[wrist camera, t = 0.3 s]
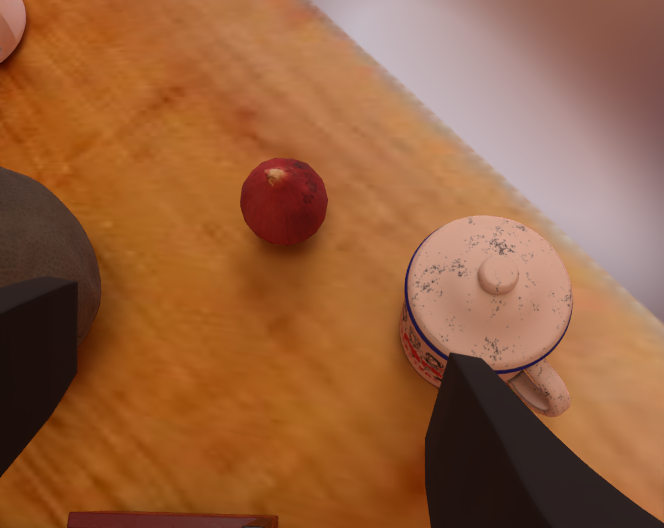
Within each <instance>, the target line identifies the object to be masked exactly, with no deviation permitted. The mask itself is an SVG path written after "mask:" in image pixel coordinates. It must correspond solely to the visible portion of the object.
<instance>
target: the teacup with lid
mask: <svg viewBox="0 0 664 528" xmlns="http://www.w3.org/2000/svg"><path fill="white" fill-rule="evenodd" d="M572 305H573V300H572V287H571V282H570V278H569V275H568V272H567V270H566V268H565V265H564V263H563V262H562V260H561V258H560V257H559V255H558V254H557V252H556V251H555V250H554V248H553V247H552V246H551V245H550V244H549V243H548V242H547V241H546V240H545V239H544V238H543V237H542V236H540V235H539V234H538V233H536V232H535V231H533V230H532V229H530V228H528V227H527V226H525V225H523V224H521V223H518V222H516V221H513V220H510V219H506V218H502V217H497V216H471V217H465V218H461V219H458V220H455V221H452V222H450V223H448V224H446V225H444V226H442V227H440V228H439V229H437V230H436V231H434V232H433V233H431V234H430V235H429V236H428V237H427V238H426V239H425V240H424V241H423V242H422V243H421V244H420V246H419V247H418V248H417V250H416V251H415V253H414V255H413V257H412V259H411V261H410V263H409V266H408V269H407V273H406V278H405V300H404V304H403V308H402V312H401V317H400V338H401V343H402V346H403V350H404V352H405V354H406V356H407V358H408V360H409V362H410V363H411V365H412V366H413V367H414V369H415V370H416V371H417V372H418V373H419V374H420V375H421V376H422V377H423V378H424V379H426V380H427V381H428V382H430V383H431V384H433V385H435V386H437V387H438V388H440V385H441V381H442V378H443V374H444V371H445V367H446V364H447V360H448V357H449V353H450V352H452V353H458V354H463V355H468V356H474V357H479V358H482V359H483V360H484V361H485V362H486V363H487V364H488V365H489V366H490V367H491V368H492V369H493V370H494V371H495V372H496V373H497V374H498V375H499V376H500V378H501V379H502V380H503V381H504V382H505V383H506V382H507V383H508V384H509V385H510V387H511V388H512V389H513V390H514V391H515V392H516V394H517V395H518V396H519V397H520V398H521V399H522V400H523V401H524V402H525V403H526V404H527V405H529V406H530V407H531V408H532V409H534V410H535V411H537V412H539V413H540V414H543V415H545V416H548V417H557V416H559V415H561V414H562V413H564V412H565V411H566V410H567V409H568V408H569V406H570V395H569V393H568V390H567V388H566V386H565V384H564V382H563V381H562V379H561V378H560V376H559V375H558V374H557V372H556V371H555V370H554V369H553V367H552V366H551V365H550V364H549V363H548V361H547V360H546V359H545V357H546V356H547V355H549V354H550V353H551V352H552V351H553V350H554V349H555V348H556V346H557V345H558V344H559V342H560V341H561V339H562V338H563V336H564V334H565V332H566V330H567V328H568V325H569V322H570V318H571V314H572ZM523 369H525V370H526V371H527V372H528V374H529V375H530V376H531V377H532V378H533V380H534V381H535V382H536V383H537V385H538V386H539V387H540V388H539V387H538V386H537V385H536V384H535V383H534V382H533V381H532V380H531V379H530V378H529V377H528V375H527V374H526V373H525V372H524V371H523Z"/></svg>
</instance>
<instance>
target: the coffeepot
mask: <svg viewBox="0 0 664 528" xmlns="http://www.w3.org/2000/svg"><path fill="white" fill-rule="evenodd" d="M25 25H26V11H25V6H24V3H23V1H22V0H0V63H1V62H2V61H4V60H5V59H6V58H7V57H8V56H9V55H10V54H11V53H12V52H13V51H14V49H15V48H16V47H17V45H18V43H19V42H20V40H21V38H22V35H23V32H24V29H25Z"/></svg>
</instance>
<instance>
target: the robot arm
mask: <svg viewBox="0 0 664 528" xmlns="http://www.w3.org/2000/svg"><path fill="white" fill-rule="evenodd" d="M77 331H78V282H77V281H72V280H66V279H61V278H56V277H50V276H43V277H37V278H33V279H29V280H25V281H21V282H18V283H14V284H11V285H7V286H4V287H0V477H1V476H2V475H3V474H4V472H5V471H6V470H7V469H8V468H9V466H10V465H11V464H12V463H13V462H14V460H15V459H16V458H17V457H18V455H19V454H20V453H21V452H22V451H23V449H24V448H25V447H26V446H27V445H28V443H29V442H30V441H31V440H32V438H33V437H34V436H35V435H36V433H37V432H38V431H39V430H40V429H41V427H42V426H43V425H44V424H45V422H46V421H47V420H48V419H49V417H50V416H51V415H52V413H53V412H54V410H55V408H56V407H57V405H58V404H59V402H60V400H61V399H62V397H63V396H64V394H65V392H66V391H67V389H68V387H69V385H70V384H71V382H72V380H73V378H74V377H75V375H76V373H77ZM425 486H426V494H427V502H428V509H429V516H430V524H431V528H664V523H663V522H661V521H660V520H658V519H657V518H655V517H654V516H653V515H651V514H650V513H648V512H647V511H645V510H644V509H642V508H641V507H640V506H638V505H637V504H636V503H634V502H633V501H632V500H630V499H629V498H628V497H626V496H625V495H624V494H622V493H621V492H620V491H619V490H617V489H616V488H615V487H614V486H612V485H611V484H610V483H609V482H607V481H606V480H605V479H604V478H602V477H601V476H600V475H599V474H597V473H596V472H595V471H594V470H593V469H591V468H590V467H589V466H588V465H587V464H586V463H584V462H583V461H582V460H581V459H580V458H579V457H578V456H577V455H576V454H574V453H573V452H572V451H571V450H570V449H569V448H568V447H567V446H566V445H565V444H564V443H563V442H562V441H561V440H560V439H558V438H557V437H556V436H555V435H554V434H553V433H552V432H551V431H550V430H549V429H548V428H547V427H546V426H545V425H544V424H543V423H542V422H541V421H540V420H539V419H538V418H537V417H536V416H535V414H534V413H533V412H532V411H531V410H530V409H529V408H528V407H527V406H526V405H525V404H524V403H523V402H522V401H521V400H520V398H519V397H518V396H517V395H516V394H515V393H514V392H513V391H512V390H511V389H510V387H509V386H508V385H507V384H506V383H505V382H504V381H503V380H502V379H501V378H500V376H499V375H498V374H497V373H496V372H495V371H494V370H493V369H492V368H491V367H490V366H489V365H488V364H487V363H486V362H485V361H484V360H483V359H482V358H479V357H474V356H468V355H463V354H458V353H452V352H450V353H449V357H448V360H447V364H446V367H445V371H444V374H443V378H442V381H441V385H440V388H439V392H438V395H437V399H436V402H435V406H434V409H433V413H432V416H431V420H430V423H429V427H428V430H427V434H426V437H425Z"/></svg>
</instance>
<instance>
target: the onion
mask: <svg viewBox="0 0 664 528" xmlns="http://www.w3.org/2000/svg"><path fill="white" fill-rule="evenodd" d="M327 203H328V198H327V194H326V190H325V186H324V183H323V181H322V179H321V178H320V177H319V175H318V174H317V173H316V172H315V171H314V170H313V169H312V168H311V167H310V166H309V165H308V164H307V163H304V162H301V161H298V160H295V159H284V158H274V159H271V160H268V161H265V162H263V163H261V164H260V165H259V166H258V167H256V168H255V169H254V170H253V171H252V172H251V173H250V175H249V176H248V178H247V179H246V181H245V182H244V184H243V186H242V192H241V200H240V207H241V210H242V213H243V216H244V220H245V222H246V223H247V225H248V226H249V227H250V228H251V229H252V231H253V232H254V233H255V234H256V235H257V236H258V237H260V238H262V239H264V240H265V241H267V242H269V243H271V244H278V245H285V246H289V245H292V244H296V243H300V242H303V241H305V240H306V239H308V238H309V237H310V236H312V235H313V234H315V233H316V232H317V230H318V229H319V227H320V226H321V224H322V223H323V221H324V218H325V214H326V208H327Z"/></svg>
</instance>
